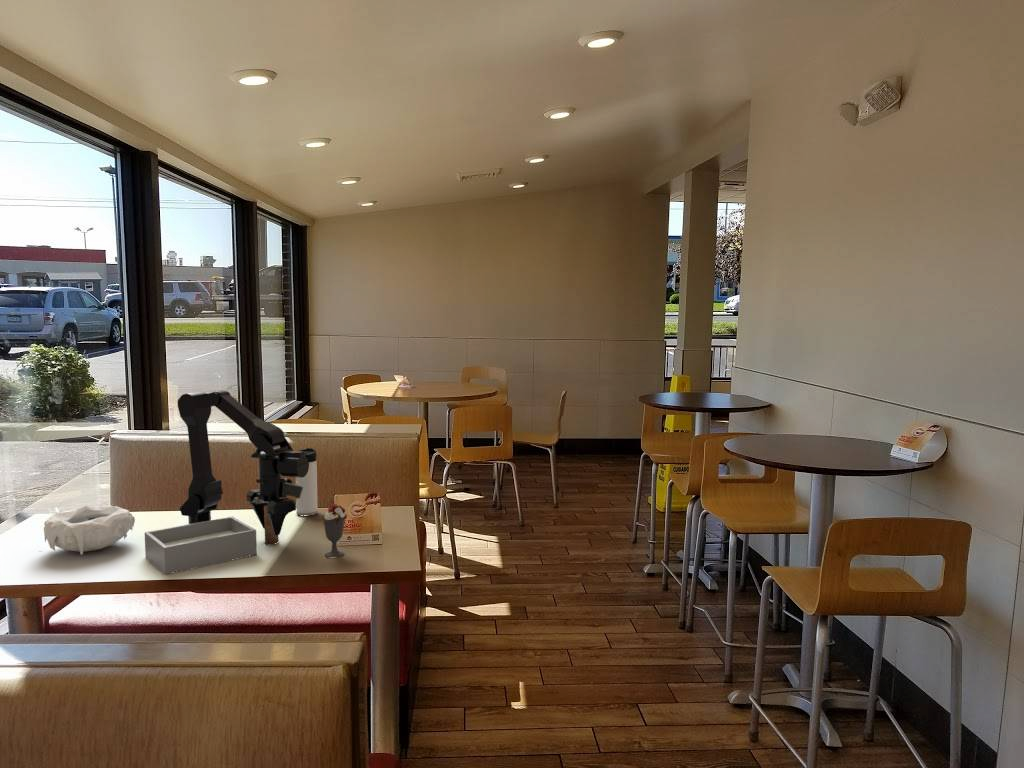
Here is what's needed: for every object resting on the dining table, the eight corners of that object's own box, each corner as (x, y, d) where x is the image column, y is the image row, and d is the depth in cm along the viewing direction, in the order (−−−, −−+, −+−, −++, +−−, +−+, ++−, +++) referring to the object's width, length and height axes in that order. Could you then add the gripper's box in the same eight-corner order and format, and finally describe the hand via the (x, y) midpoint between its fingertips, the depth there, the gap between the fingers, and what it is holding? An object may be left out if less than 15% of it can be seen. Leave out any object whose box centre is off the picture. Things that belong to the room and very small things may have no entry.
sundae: (324, 560, 180) (323, 502, 178) (318, 552, 186) (317, 496, 184) (350, 557, 183) (350, 499, 181) (344, 549, 189) (343, 493, 187)
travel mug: (321, 511, 225) (319, 448, 223) (313, 517, 218) (311, 452, 216) (301, 510, 225) (300, 447, 224) (293, 516, 219) (291, 451, 217)
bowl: (33, 549, 187) (31, 511, 186) (118, 532, 202) (116, 497, 201) (57, 568, 173) (55, 528, 172) (147, 549, 188) (145, 511, 187)
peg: (262, 542, 194) (261, 506, 193) (275, 539, 196) (274, 503, 195) (268, 545, 191) (267, 508, 190) (280, 542, 194) (280, 506, 193)
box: (145, 557, 181) (144, 532, 181) (233, 539, 196) (232, 516, 195) (165, 574, 169) (164, 547, 169) (256, 554, 184) (256, 529, 183)
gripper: (314, 476, 190) (315, 533, 192) (283, 465, 204) (285, 518, 206) (273, 482, 183) (275, 542, 185) (245, 470, 197) (246, 526, 198)
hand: (271, 531), depth 193 cm, fingers open, 7 cm apart
